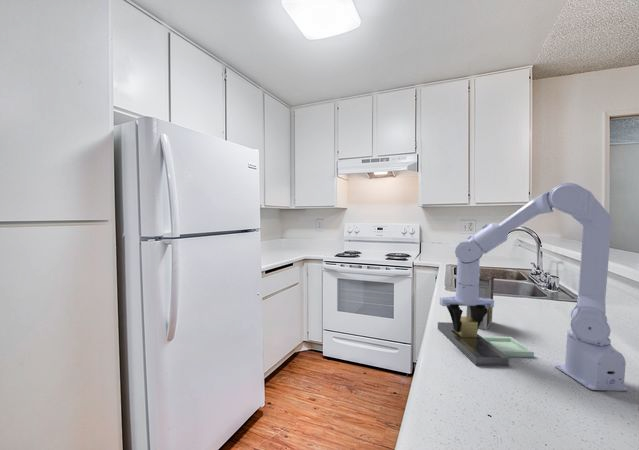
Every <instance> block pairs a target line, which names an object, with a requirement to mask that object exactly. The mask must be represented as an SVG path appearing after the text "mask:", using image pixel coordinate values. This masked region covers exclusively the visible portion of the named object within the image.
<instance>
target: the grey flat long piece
mask: <svg viewBox="0 0 639 450" xmlns="http://www.w3.org/2000/svg"><path fill="white" fill-rule="evenodd" d="M437 330H438V331H439V332H440V333H442V334H443V336H445V337H446V339H448V340H449V341H450V342H451V343H452V344H453V345H454V346H455V347H456V348H457V349H458V350H459V351H460V352H461V353H462V354H463V355H465V357H467V359H469V361H470V362H471V363H472V364H473V365H474V366H491V367H492V366H495V367H497V366H498V367H508V366H509V362H510V357H507V356H506V355H505V354H503V353H502V352H501V351H499V350H498V349H497V348H495V347H494V346H493V345H491V344H490V343H489V342H488V341H486V340H485V339H484V338H482V337H481V336H482V335H480V334H479V333H477V339H460V338H459V337H457V336H456V335H455V334H454V328H453V322H448V321H447V322H445V321H444V322H440V321H438V322H437Z"/></svg>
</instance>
